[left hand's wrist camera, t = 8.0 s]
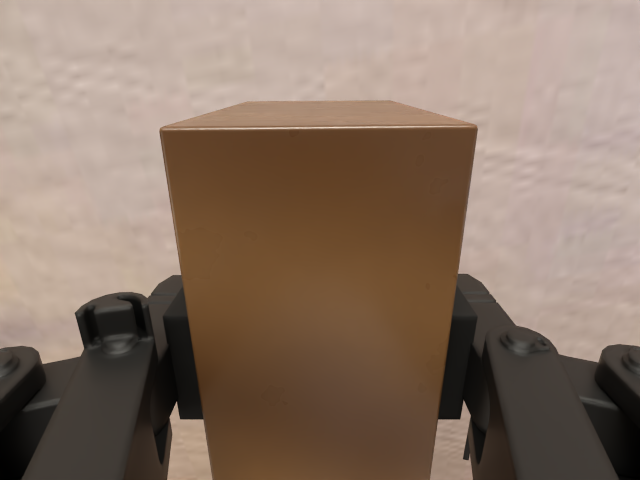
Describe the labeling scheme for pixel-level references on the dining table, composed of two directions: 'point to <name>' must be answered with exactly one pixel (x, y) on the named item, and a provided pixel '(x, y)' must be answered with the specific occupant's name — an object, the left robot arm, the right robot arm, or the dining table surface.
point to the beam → (319, 281)
